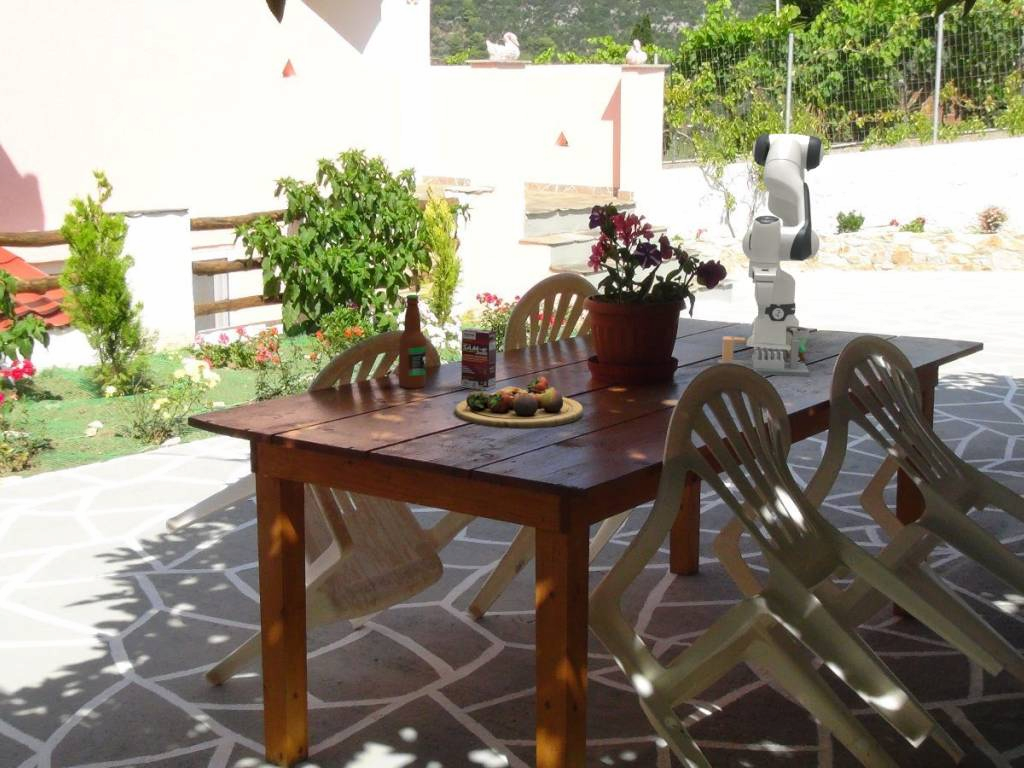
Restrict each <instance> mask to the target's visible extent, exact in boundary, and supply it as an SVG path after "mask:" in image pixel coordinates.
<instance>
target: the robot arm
mask: <svg viewBox="0 0 1024 768" xmlns="http://www.w3.org/2000/svg"><path fill="white" fill-rule="evenodd" d="M824 153H825V148H824V144H823V140H822V139H821V138H820V137H818V136H814V135H805V134H804V135H803V134H799V133H798V134H797V133H768V132H767V133H762V134H760V135H758V136H757V138H756V139H755V141H754V143H753V147H752V156H753V160H754V162H755V164H757V165H758V166H761V167H763V168H764V169H763V175H762V176H763V185H764V187H765V189H766V190H767V191H768V198H767V208H768V211H769V212H770V213H771V214H773V215H762V216H757V217H756V218H754V221H753V224H752V229H749V230H748V231H746V232H745V234H744V236H743V238H742V241H741V243H742V244H741V248H742V251H743V253H744V256H746V257H747V258H748V259H749V260H748V262H749V263H748V277H749V278H751V279H752V283H753V284H755V285H754V299H755V302H756V306H757V316H756V317H755V318H754V320H753V321H752V323H751V329H752V330H751V334H752V335H750V336H749V337H748V338H747V340H746V342H747V341H748V342H760V343H772V344H784V345H786V326H796V327H800V320H798V318H797V317H796V315H795V314H796V309H797V307H796V302H795V295H796V280H795V278H794V276H792V274H790V273H788V272H787V271H785V270H783V269H782V268H781V262H804V261H806V260H811V259H814V257H816V255H817V253H819V249H820V246H821V245H820V238H819V236H818V234H817V232H816V231H815V230H814V229H813V228H812V207H811V206H812V205H811V197H810V196H811V195H810V194H811V193H810V188H809V185H808V183H806V182H805V170H806V171H807V172H810V171H811V170H814V169H816V168H818V167H819V166H820V165H821V163H822V161H823V158H824V155H825V154H824ZM780 219H781V220H782V225H781V220H780Z"/></svg>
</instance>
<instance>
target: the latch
mask: <svg viewBox="0 0 1024 768" xmlns="http://www.w3.org/2000/svg"><path fill="white" fill-rule="evenodd" d="M735 343H742V344H743V343H744V344H747V340H746V337H745V336H744V337H743V336H722V355H721V360H722V363H727V362H731V363H733V360H734V345H735Z"/></svg>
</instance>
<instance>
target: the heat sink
mask: <svg viewBox="0 0 1024 768" xmlns="http://www.w3.org/2000/svg"><path fill="white" fill-rule="evenodd" d="M790 345H792V348H791V350H790V356H789V361H785V358H784V352H783V349H773V348H771V349H772V352H771V350H770V348H765V349H766V350H764V348H761V347H759V351H758V347H753V354H751V360H743V359H733V362H734V363H739V364H743V365H746V366H749V367H751V368H753V369H754V370H756V371H757V372H759V373H761V374H763V375H764V374H766V375H765V376H786V375H793V377H810V371H809V369H808V367H807V365H806V364H805V362H800V363H798V351H799V340H798V338H791V340H790ZM718 363H722V359H717V364H718ZM761 374H760V375H761ZM794 375H795V376H794Z"/></svg>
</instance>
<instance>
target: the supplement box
mask: <svg viewBox="0 0 1024 768" xmlns="http://www.w3.org/2000/svg"><path fill="white" fill-rule="evenodd" d="M497 333H498V332H497V330H488V329H482V328H481V329H479V328H473V327H472V328H471V327H470V328H466V329H463V330H461V375H460V376H461V377H460V378H461V379H460V383H461V387H460V388H468V389H475V390H480V391H482V389H484V390H483V391H490V390H493V389H495V388H496V382H497V381H496V376H497V375H496V373H497V371H496V369H497V367H496V366H497V335H498V334H497Z"/></svg>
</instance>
